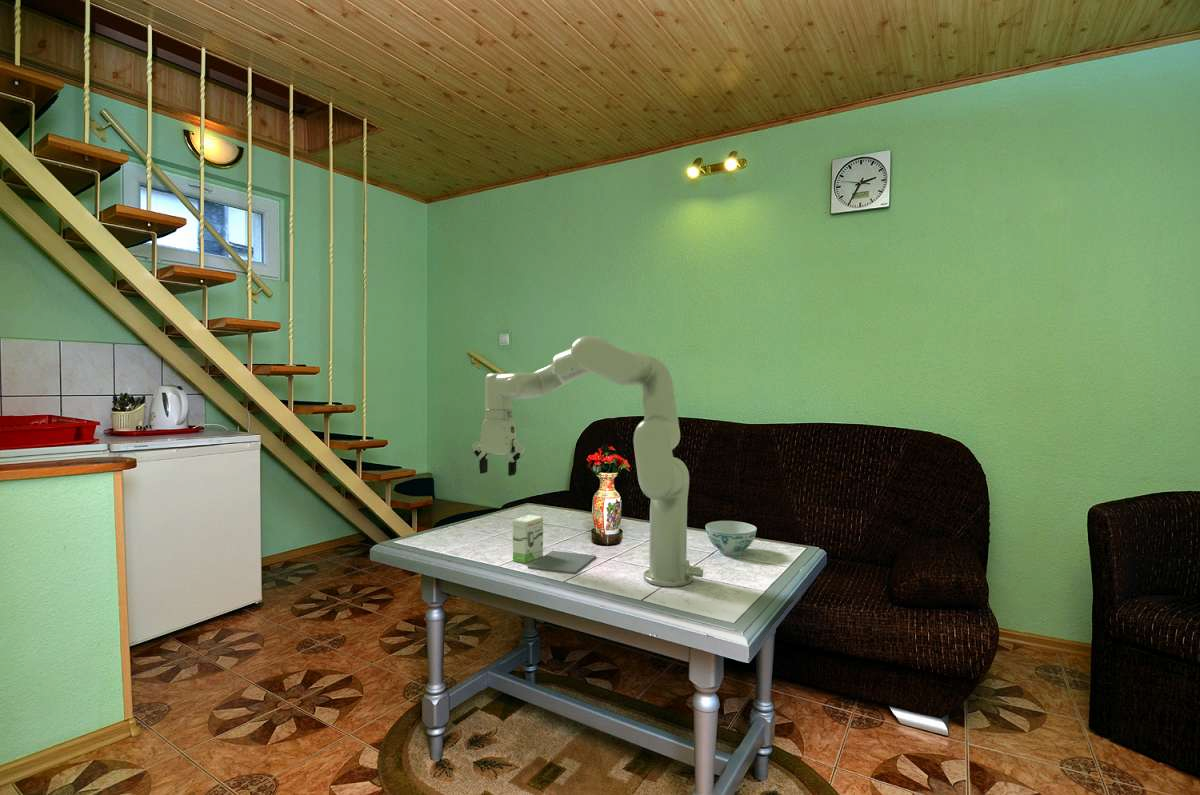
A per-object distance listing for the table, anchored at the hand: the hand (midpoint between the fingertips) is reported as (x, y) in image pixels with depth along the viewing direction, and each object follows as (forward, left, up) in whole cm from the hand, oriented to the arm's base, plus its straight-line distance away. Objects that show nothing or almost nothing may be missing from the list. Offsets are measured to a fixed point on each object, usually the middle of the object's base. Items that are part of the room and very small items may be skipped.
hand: (497, 473), depth 172 cm
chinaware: (-64, -27, -24) cm, 74 cm away
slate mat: (-21, 0, -24) cm, 32 cm away
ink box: (-10, 0, -24) cm, 26 cm away
